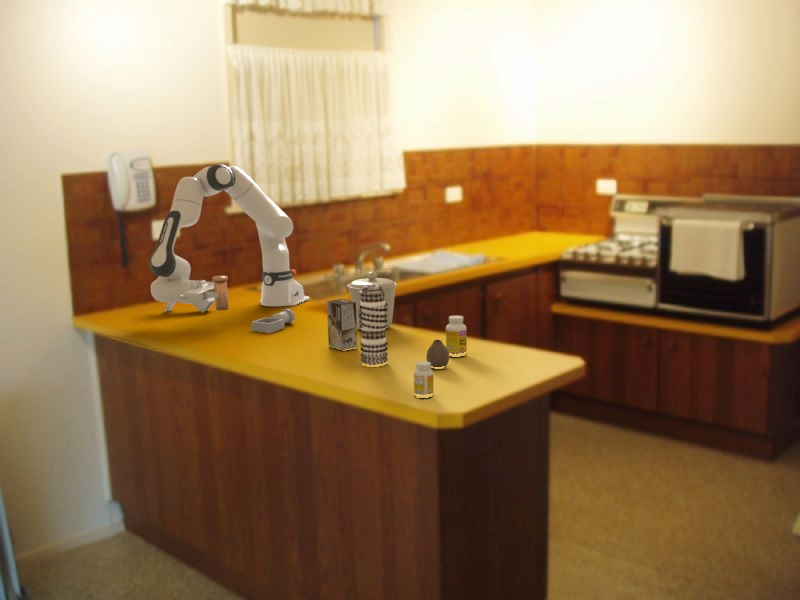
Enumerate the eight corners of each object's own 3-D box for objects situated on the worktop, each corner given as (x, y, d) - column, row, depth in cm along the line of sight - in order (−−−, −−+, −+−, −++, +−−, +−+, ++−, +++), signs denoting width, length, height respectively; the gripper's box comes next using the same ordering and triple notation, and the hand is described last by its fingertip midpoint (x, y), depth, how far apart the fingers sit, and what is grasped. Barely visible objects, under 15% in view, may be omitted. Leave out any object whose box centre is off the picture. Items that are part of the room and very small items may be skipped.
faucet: (210, 301, 377) (172, 270, 378) (188, 331, 382) (150, 300, 382) (216, 298, 383) (178, 268, 384) (194, 328, 388) (157, 297, 388)
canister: (404, 324, 350) (403, 268, 346) (388, 335, 334) (386, 276, 329) (359, 322, 356) (357, 267, 352) (341, 332, 339) (339, 275, 335)
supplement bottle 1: (416, 400, 256) (415, 366, 255) (412, 394, 262) (411, 361, 260) (435, 398, 257) (435, 364, 255) (431, 393, 262) (430, 360, 261)
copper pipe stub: (221, 307, 354) (219, 275, 351) (232, 308, 351) (230, 276, 349) (211, 309, 349) (209, 277, 347) (222, 311, 346) (220, 278, 344)
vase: (425, 365, 292) (425, 338, 290) (447, 364, 292) (447, 337, 290) (428, 371, 285) (427, 343, 283) (450, 370, 285) (450, 342, 284)
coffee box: (358, 349, 314) (357, 302, 311) (342, 352, 311) (341, 304, 308) (343, 344, 322) (341, 298, 319) (327, 347, 318) (325, 300, 315)
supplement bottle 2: (460, 359, 298) (460, 319, 296) (442, 356, 302) (441, 317, 299) (470, 354, 304) (470, 315, 302) (452, 352, 307) (451, 314, 305)
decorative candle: (391, 366, 291) (390, 287, 286) (362, 369, 289) (360, 289, 284) (386, 359, 300) (384, 282, 295) (357, 361, 298) (355, 284, 293)
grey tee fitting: (280, 322, 359) (279, 307, 358) (298, 324, 355) (297, 309, 353) (251, 331, 345) (250, 316, 344) (270, 333, 340) (269, 318, 339)
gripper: (174, 288, 343) (208, 290, 338) (203, 279, 362) (235, 280, 357) (176, 305, 344) (209, 307, 340) (205, 295, 363) (236, 296, 358)
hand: (223, 293), depth 349 cm, fingers closed on copper pipe stub, 5 cm apart
